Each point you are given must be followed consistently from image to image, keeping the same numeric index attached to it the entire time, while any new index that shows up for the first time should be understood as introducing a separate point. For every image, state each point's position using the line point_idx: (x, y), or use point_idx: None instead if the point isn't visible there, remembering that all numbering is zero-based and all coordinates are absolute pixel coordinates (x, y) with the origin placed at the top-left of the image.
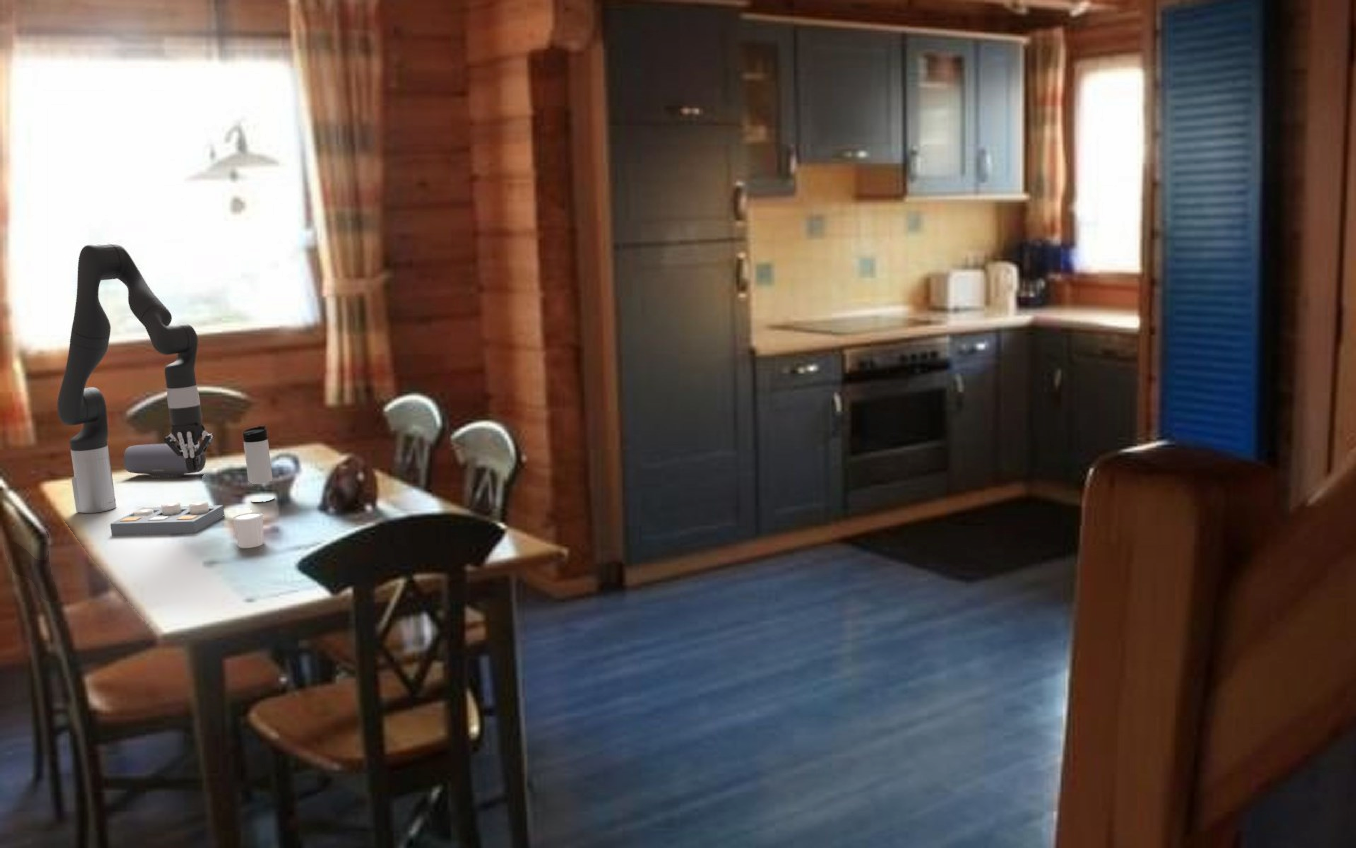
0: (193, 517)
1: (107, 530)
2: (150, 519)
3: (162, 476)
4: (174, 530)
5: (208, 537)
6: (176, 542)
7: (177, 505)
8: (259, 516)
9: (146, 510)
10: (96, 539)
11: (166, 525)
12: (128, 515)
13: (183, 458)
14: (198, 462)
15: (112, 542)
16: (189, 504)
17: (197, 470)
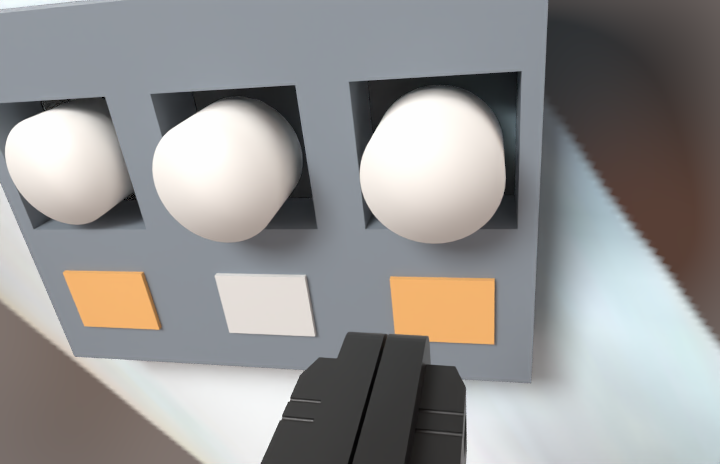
0: (491, 323)
1: (9, 236)
2: (236, 328)
3: None
4: None
5: (646, 414)
6: (508, 459)
7: (277, 200)
8: None
9: (60, 157)
10: (95, 364)
11: None
12: (20, 213)
13: None
14: (462, 460)
15: (202, 413)
16: (363, 192)
17: (428, 351)
